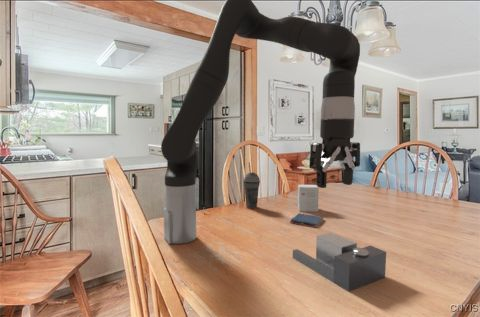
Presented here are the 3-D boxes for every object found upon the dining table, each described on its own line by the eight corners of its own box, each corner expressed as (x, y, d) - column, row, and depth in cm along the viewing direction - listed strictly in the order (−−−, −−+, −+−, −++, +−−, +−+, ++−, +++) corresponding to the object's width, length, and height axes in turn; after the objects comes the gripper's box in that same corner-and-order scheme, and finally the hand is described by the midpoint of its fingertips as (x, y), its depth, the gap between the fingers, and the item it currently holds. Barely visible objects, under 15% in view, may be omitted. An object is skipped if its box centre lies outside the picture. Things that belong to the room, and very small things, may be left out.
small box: (316, 208, 121) (316, 184, 120) (318, 212, 115) (319, 187, 114) (297, 207, 122) (297, 184, 121) (298, 211, 116) (299, 186, 115)
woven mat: (325, 221, 105) (325, 216, 104) (317, 229, 95) (317, 224, 95) (298, 217, 110) (298, 212, 110) (288, 224, 101) (288, 219, 101)
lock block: (342, 277, 63) (343, 247, 62) (315, 262, 70) (316, 235, 70) (357, 272, 65) (358, 243, 65) (330, 258, 73) (331, 232, 72)
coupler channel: (348, 291, 57) (349, 259, 56) (292, 257, 73) (293, 232, 72) (385, 277, 63) (386, 248, 62) (325, 248, 79) (326, 225, 78)
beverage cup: (260, 209, 119) (260, 163, 117) (243, 209, 119) (243, 163, 117) (259, 205, 126) (259, 161, 124) (243, 205, 126) (243, 161, 124)
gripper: (345, 119, 72) (343, 181, 73) (303, 117, 65) (301, 185, 66) (371, 118, 65) (368, 186, 66) (326, 116, 58) (324, 191, 60)
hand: (334, 185), depth 66 cm, fingers open, 8 cm apart
